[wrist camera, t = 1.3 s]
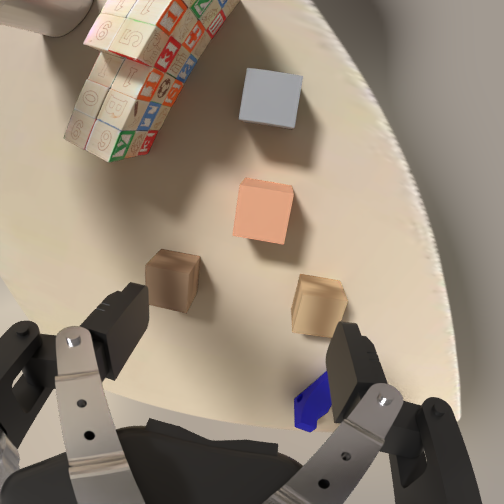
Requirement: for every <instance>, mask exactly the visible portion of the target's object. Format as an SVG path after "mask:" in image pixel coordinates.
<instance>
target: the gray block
mask: <svg viewBox="0 0 504 504" xmlns="http://www.w3.org/2000/svg"><path fill="white" fill-rule="evenodd" d="M302 79H303V76H299V75H294V74H288V73H282V72H276V71H269V70H262V69H254V68H247V72H246V77H245V83H244V89H243V95H242V101H241V107H240V114H239V120H242V121H244V122H248V123H255V124H262V125H268V126H274V127H280V128H286V129H291V130H292V129H293V128H294V127H295V121H296V115H297V109H298V103H299V97H300V91H301V85H302Z"/></svg>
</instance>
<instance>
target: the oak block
mask: <svg viewBox="0 0 504 504" xmlns="http://www.w3.org/2000/svg"><path fill="white" fill-rule="evenodd" d="M347 303H348V301H347V298H346V295H345V292H344V290H343V287H342V285H341V282H340V281H339V280H333V279H327V278H321V277H316V276H310V275H304V274H300V276H299V280H298V284H297V288H296V292H295V296H294V300H293V304H292V308H291V315H292V332H293V333H300V334H307V335H314V336H321V337H329V338H332V337H333V334H334V331H335V329H336V326H337V324H338V322H339V321H341V319H342V317H343V314H344V311H345V308H346V305H347Z"/></svg>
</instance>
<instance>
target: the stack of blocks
mask: <svg viewBox="0 0 504 504" xmlns="http://www.w3.org/2000/svg"><path fill="white" fill-rule="evenodd" d="M239 1H240V0H107V2H106V4H105V5H104V7H103V8H102V10H101V13H100V14H99V16H98V17H97V19H96V21H95V22H94V24H93V26H92V28H91V30H90V31H89V33H88V35H87V37H86V39H85V41H84V43H83V44H84V45H87V46H89V47H92V48H94V49H97V50H99V51H101V52H100V54H99V56H98V58H97V60H96V62H95V64H94V66H93V68H92V70H91V72H90V74H89V76H88V79H87V80H86V81H85V84H84V86H83V88H82V90H81V93H80V95H79V97H78V100H77V102H76V104H75V107H74V111H73V114H72V116H71V119H70V122H69V124H68V127H67V130H66V132H65V135H64V139H65V140H67V141H69V142H71V143H72V144H74V145H76V146H78V147H80V148H81V149H83V150H87V151H88V152H90V153H92V154H94V155H95V156H97V157H99V158H101V159H103V160H105V161H107V162H113V161H118V160H123V159H124V158H130V157H136V156H139V155H145V154H148V152H149V150H150V148H151V146H152V143H153V141H154V139H155V137H156V135H157V133H158V130H160V128H161V126H162V124H163V123H164V121H165V119H166V117H167V115H168V113H169V111H170V109H171V107H172V105H173V104H174V102H175V100H176V98H177V96H178V95H179V93H180V91H181V89H182V88H183V86H184V83H185V81H186V79H187V78H188V76H189V74H190V73H191V71H192V69H193V68H194V66H195V64H196V63H197V60H198V59H199V58H200V56H201V54H202V53H203V51H204V50H205V48H206V47H207V45H208V43H209V42H210V40H211V39H212V38H213V37H214V35H215V34H216V33H217V31H218V30H219V28H220V27H221V25H222V24H223V23H224V21H225V20H226V18H227V17H228V16H229V15H230V13H231V12H232V11H233V9H234V8H235V6H236V5H237V4H238V3H239Z"/></svg>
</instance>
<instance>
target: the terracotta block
mask: <svg viewBox="0 0 504 504" xmlns="http://www.w3.org/2000/svg"><path fill="white" fill-rule="evenodd" d="M293 196H294V193H293V189H292V186H290V185H285V184H280V183H274V182H268V181H262V180H256V179H250V178H245V179H244V180H243V181H242V183H241V184H240V187H239V194H238V200H237V207H236V214H235V221H234V228H233V236H238V237H244V238H249V239H255V240H261V241H267V242H272V243H278V244H284V241H285V236H286V231H287V226H288V221H289V216H290V211H291V206H292V201H293Z"/></svg>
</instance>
